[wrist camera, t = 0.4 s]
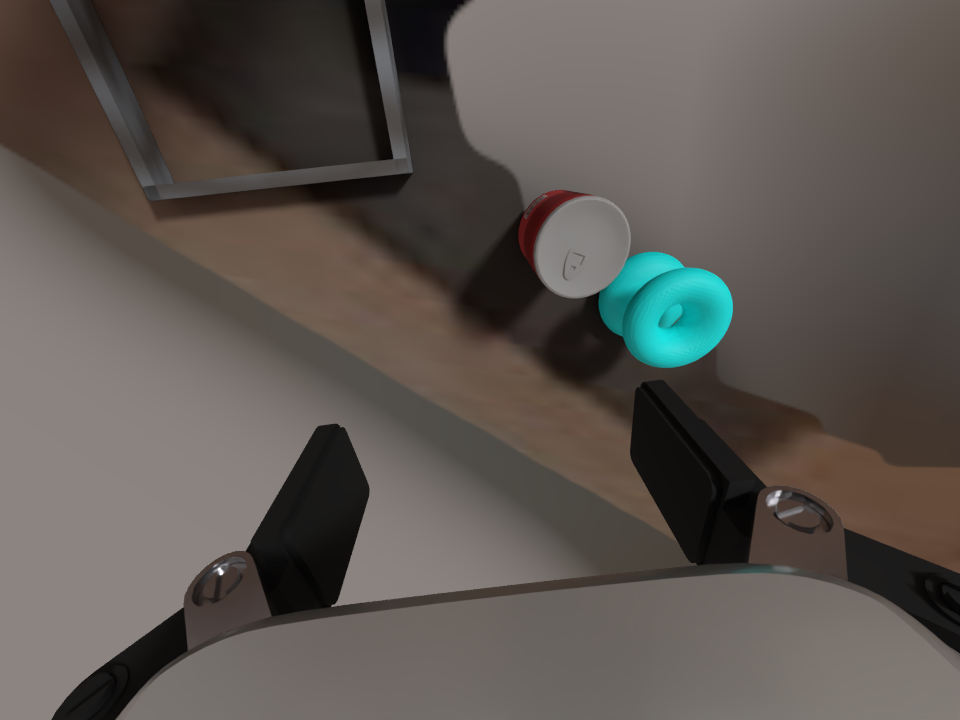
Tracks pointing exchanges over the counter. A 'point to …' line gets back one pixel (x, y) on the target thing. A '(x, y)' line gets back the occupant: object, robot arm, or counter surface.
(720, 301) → the donuts
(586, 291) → the canned food
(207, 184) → the corral
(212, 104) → the counter surface
